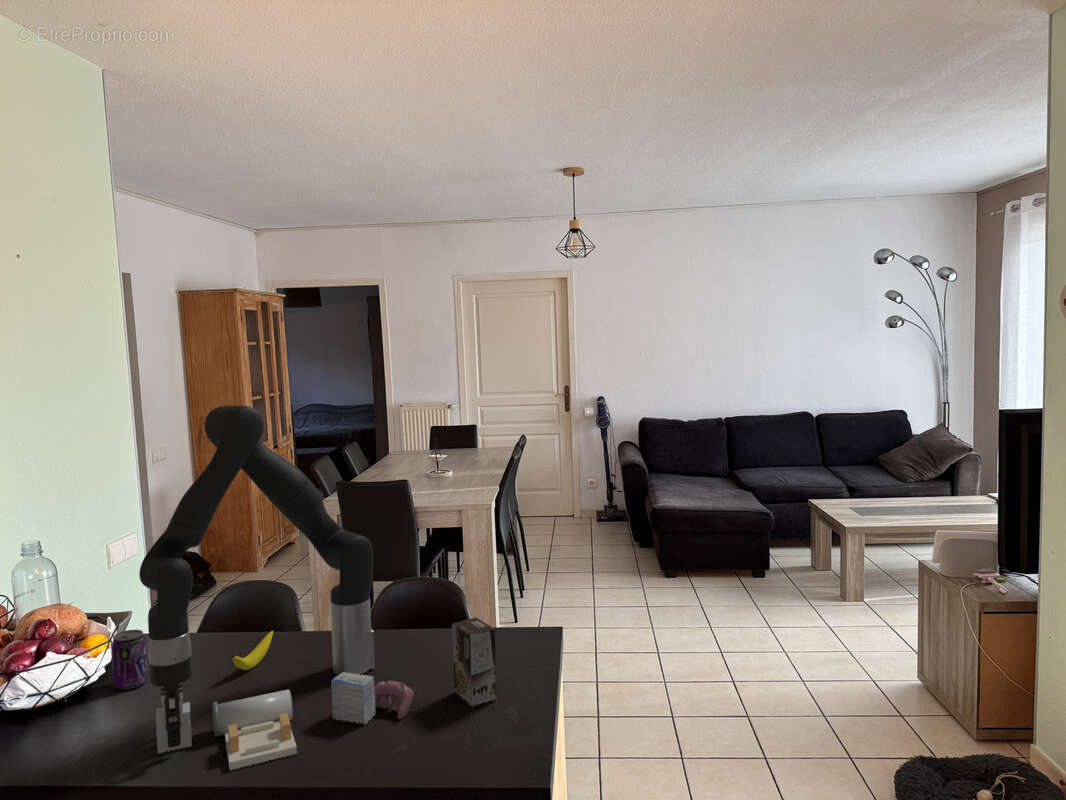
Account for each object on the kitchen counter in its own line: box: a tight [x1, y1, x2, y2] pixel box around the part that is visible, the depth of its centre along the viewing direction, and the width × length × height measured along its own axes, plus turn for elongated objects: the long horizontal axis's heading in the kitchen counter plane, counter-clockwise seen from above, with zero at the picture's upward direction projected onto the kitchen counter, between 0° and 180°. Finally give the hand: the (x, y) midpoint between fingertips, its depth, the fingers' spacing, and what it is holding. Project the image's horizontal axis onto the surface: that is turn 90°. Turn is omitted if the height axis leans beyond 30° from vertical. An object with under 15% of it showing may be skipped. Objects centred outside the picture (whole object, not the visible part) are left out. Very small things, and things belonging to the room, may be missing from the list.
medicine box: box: [330, 672, 376, 725], centre depth 157 cm, size 8×4×9 cm, turn 71°
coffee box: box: [451, 617, 497, 707], centre depth 165 cm, size 9×6×16 cm
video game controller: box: [374, 680, 415, 720], centre depth 160 cm, size 10×5×7 cm, turn 65°
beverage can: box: [110, 629, 149, 690], centre depth 174 cm, size 7×7×12 cm
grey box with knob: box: [155, 701, 193, 754], centre depth 147 cm, size 6×4×9 cm
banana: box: [231, 630, 274, 671], centre depth 184 cm, size 3×19×6 cm, turn 172°
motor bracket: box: [212, 689, 298, 771], centre depth 148 cm, size 15×18×7 cm
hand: (174, 735), depth 147 cm, fingers open, 8 cm apart
